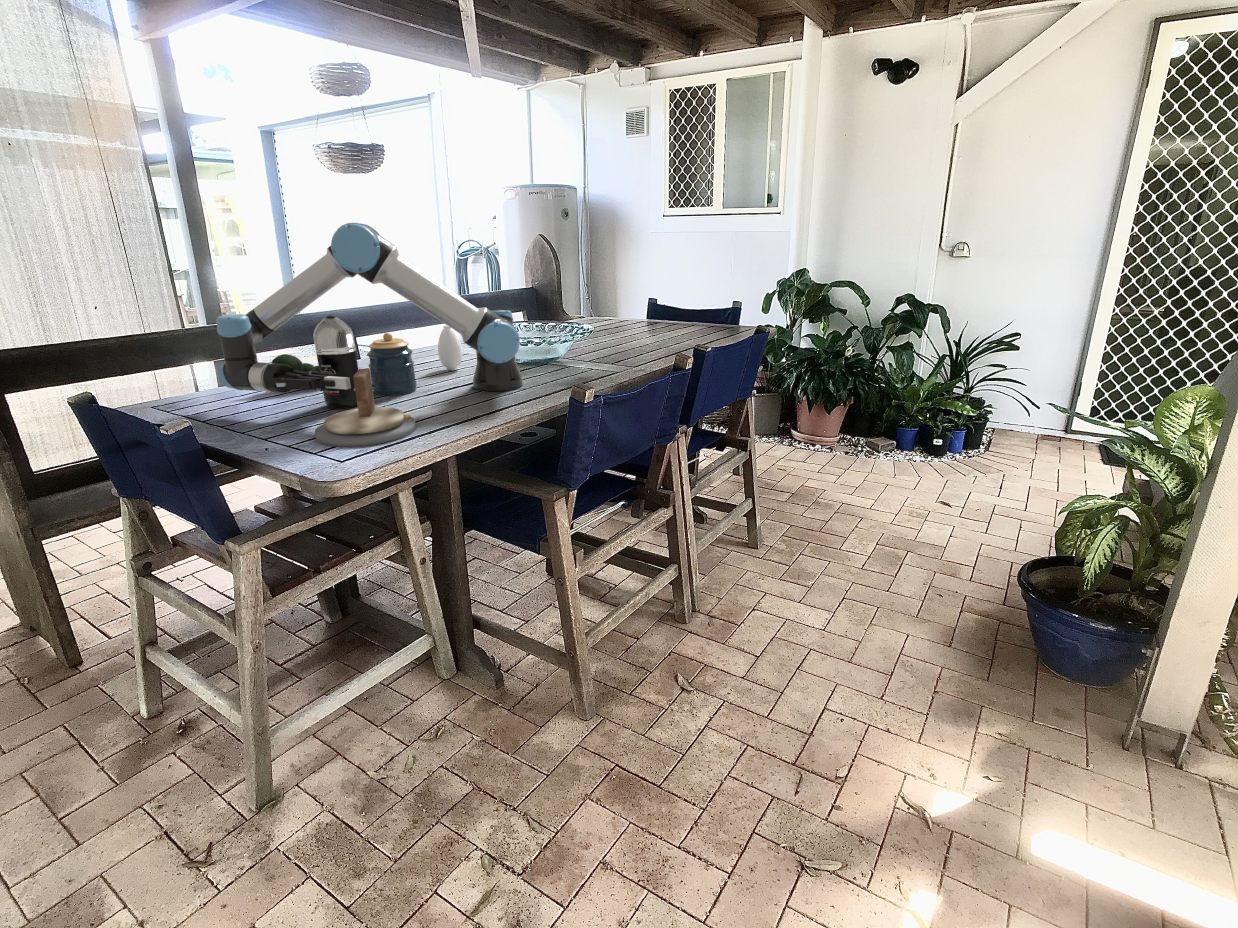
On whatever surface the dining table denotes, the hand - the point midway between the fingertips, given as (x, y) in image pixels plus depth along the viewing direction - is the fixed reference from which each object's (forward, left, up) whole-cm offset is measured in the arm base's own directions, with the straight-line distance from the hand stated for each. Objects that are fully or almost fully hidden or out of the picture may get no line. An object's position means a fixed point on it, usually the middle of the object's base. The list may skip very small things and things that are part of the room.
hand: (348, 383), depth 161 cm
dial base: (-4, +8, -10) cm, 14 cm away
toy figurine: (+21, -45, -11) cm, 51 cm away
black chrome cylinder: (+6, -20, -11) cm, 23 cm away
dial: (-4, +8, -8) cm, 12 cm away
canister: (-6, -34, -11) cm, 36 cm away
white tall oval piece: (-22, -61, -11) cm, 66 cm away
